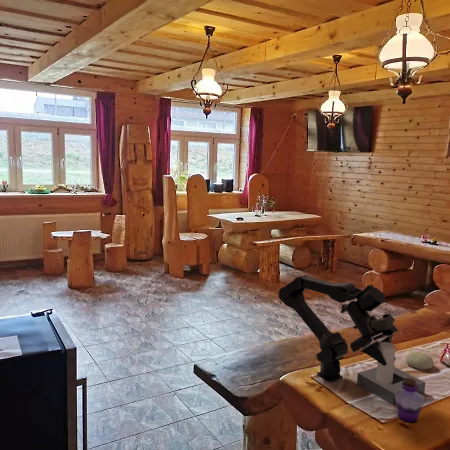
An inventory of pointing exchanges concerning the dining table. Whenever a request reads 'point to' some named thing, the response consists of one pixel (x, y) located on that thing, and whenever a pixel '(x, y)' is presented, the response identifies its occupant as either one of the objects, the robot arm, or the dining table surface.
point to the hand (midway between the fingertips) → (390, 362)
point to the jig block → (386, 390)
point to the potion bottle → (409, 401)
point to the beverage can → (387, 371)
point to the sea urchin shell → (419, 360)
